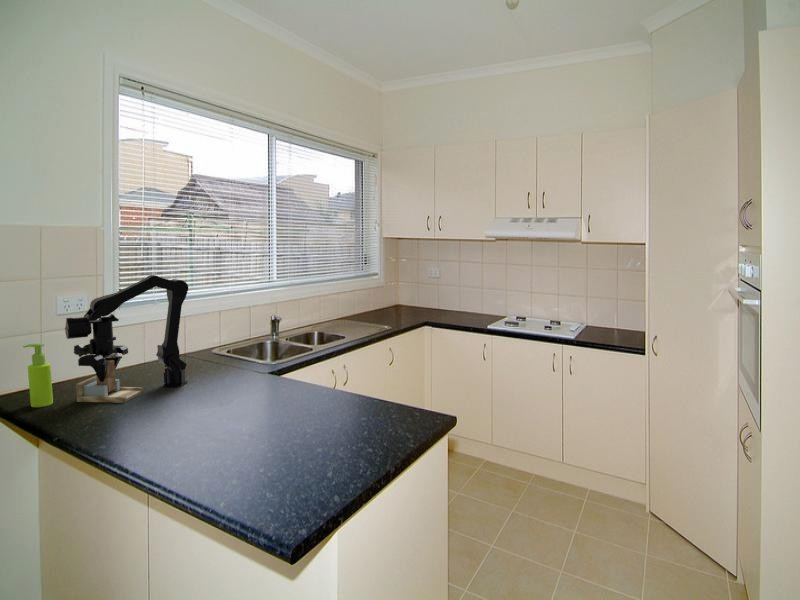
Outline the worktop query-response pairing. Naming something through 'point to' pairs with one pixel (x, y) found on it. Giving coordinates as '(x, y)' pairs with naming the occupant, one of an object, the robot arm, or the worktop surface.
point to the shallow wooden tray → (113, 396)
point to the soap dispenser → (39, 379)
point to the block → (99, 389)
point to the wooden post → (109, 376)
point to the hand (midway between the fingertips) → (105, 379)
